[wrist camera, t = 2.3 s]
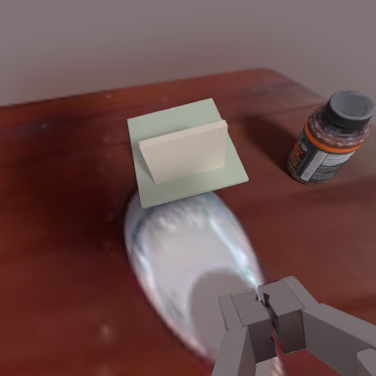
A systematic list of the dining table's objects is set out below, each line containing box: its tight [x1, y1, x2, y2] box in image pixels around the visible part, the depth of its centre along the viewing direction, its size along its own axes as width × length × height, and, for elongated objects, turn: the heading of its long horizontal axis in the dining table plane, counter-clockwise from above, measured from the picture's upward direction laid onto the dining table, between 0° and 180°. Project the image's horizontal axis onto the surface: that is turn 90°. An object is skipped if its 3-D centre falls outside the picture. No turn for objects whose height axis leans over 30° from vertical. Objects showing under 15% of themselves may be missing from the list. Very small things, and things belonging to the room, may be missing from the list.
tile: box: [139, 120, 227, 184], centre depth 29 cm, size 10×1×8 cm, turn 104°
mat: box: [127, 98, 249, 209], centre depth 35 cm, size 15×17×1 cm
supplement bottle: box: [287, 90, 376, 185], centre depth 26 cm, size 6×6×11 cm
